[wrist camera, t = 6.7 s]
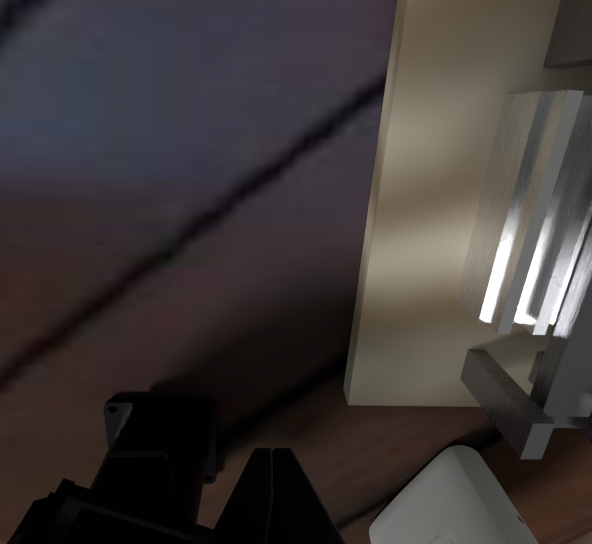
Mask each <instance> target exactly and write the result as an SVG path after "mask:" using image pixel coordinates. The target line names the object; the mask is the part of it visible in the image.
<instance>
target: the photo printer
mask: <svg viewBox="0 0 592 544" xmlns="http://www.w3.org/2000/svg"><path fill="white" fill-rule="evenodd" d="M369 534H370V540H371V544H538V542H537V540H536V539H535V537H534V536H533V534H532V533H531V531H530V530H529V528H528V527H527V525H526V524H525V522H524V520H523V519H522V518H521V516H520V514H519V513H518V511H517V510H516V508H515V507H514V505H513V504H512V502H511V501H510V499H509V498H508V496H507V495H506V493H505V492H504V490H503V488H502V487H501V485H500V484H499V482H498V481H497V479H496V478H495V476H494V475H493V473H492V472H491V470H490V469H489V468H488V466H487V465H486V463H485V462H484V460H483V459H482V457H481V456H480V454H479V453H478V452H477V451H476V450H474V449H473V448H470V447H468V446H463V445H454V446H452V447H448V448H447V449H445V450H444V451H442V452H441V453H440V454H439V455H438V456H437V457H436V458H434V459H433V460H432V461H431V462H430V463H429V464H428V465H427V466H426V467H425V468H424V469H423V470H422V471H421V472H420V473H419V474H418V475H417V476H416V477H415V478H414V479H413V480H412V481H411V482H410V483H409V484H408V485H407V486H406V487H405V488H404V489H403V490H402V491H401V492H400V493H399V494H398V495H397V496H396V497H395V498H394V499H393V501H392V502H391V503H390V504H389V505H388V506H387V507H386V508H385V509H384V510H383V511H382V512H381V513H380V515H379V516H378V517H377V518H376V519H375V520H374V522H373V523H372V525H371V526H370V529H369Z"/></svg>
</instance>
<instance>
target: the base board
mask: <svg viewBox="0 0 592 544" xmlns="http://www.w3.org/2000/svg"><path fill="white" fill-rule="evenodd" d="M560 1H561V0H397V6H396V14H395V21H394V28H393V35H392V42H391V50H390V57H389V64H388V71H387V78H386V86H385V93H384V100H383V107H382V114H381V121H380V129H379V136H378V143H377V150H376V157H375V165H374V172H373V179H372V186H371V193H370V201H369V208H368V215H367V222H366V229H365V237H364V244H363V251H362V258H361V265H360V273H359V280H358V287H357V294H356V301H355V309H354V316H353V323H352V330H351V337H350V345H349V352H348V359H347V366H346V373H345V381H344V388H343V389H344V393H345V396H346V400H347V403H348V405H371V406H461V407H481V406H480V405H479V403H478V402H477V401H476V399H475V398H474V397H473V395H472V394H471V393H470V391H469V390H468V389H467V387H466V386H465V385H464V383H463V382H462V381H461V379H460V377H461V373H462V369H463V366H464V362H465V358H466V354H467V351H468V349H483V350H486V351H487V352H488V353H489V355H490V356H491V357H492V358H493V359H494V360H495V361H496V362H497V363H498V364H499V365H500V366H501V367H502V368H503V369H504V370H505V371H506V372H507V373H508V375H509V376H510V377H511V378H512V379H513V380H514V381H515V382H516V383H517V384H518V385H519V386H520V387H521V388H522V389H523V390H524V391H525V392H526V393H527V394H528V396H530V393H531V390H532V388H533V384H532V383H531V382H530V381H529V380H528V378H529V375H530V372H531V369H532V366H533V363H534V361H535V358H536V355H537V352H538V351H545V350H546V347H547V344H548V341H549V338H550V335H551V332H552V329H553V325H552V324H549V325H548V328H547V330H546V333H545V335H532V334H531V333H530V332H529V331H527V330H526V329H525V328H524V327H522V326H521V325H520V324H519V323H513V325H512V328H511V331H510V334H497V333H496V332H495V331H494V330H493V329H492V328H490V327H489V326H488V325H487V324H486V323H485V322H478V321H477V320H476V319H475V318H474V317H473V316H472V315H471V314H470V313H469V312H468V311H467V310H466V309H465V308H463V307H462V306H461V305H460V304H459V303H458V302H457V301H456V297H457V293H458V288H459V284H460V280H461V276H462V272H463V268H464V264H465V259H466V255H467V251H468V247H469V243H470V239H471V234H472V230H473V226H474V222H475V218H476V214H477V209H478V205H479V201H480V197H481V193H482V189H483V184H484V180H485V176H486V172H487V168H488V164H489V159H490V155H491V151H492V147H493V143H494V139H495V135H496V130H497V126H498V122H499V118H500V114H501V110H502V105H503V101H504V97H505V95H511V94H520V93H529V92H539V91H543V92H552V91H562V90H576V91H584V92H583V95H588V96H590V95H592V65H588V66H582V67H576V68H571V69H565V70H563V69H553V68H543V65H544V61H545V57H546V54H547V50H548V46H549V42H550V38H551V35H552V31H553V27H554V23H555V20H556V16H557V12H558V8H559V5H560Z"/></svg>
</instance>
